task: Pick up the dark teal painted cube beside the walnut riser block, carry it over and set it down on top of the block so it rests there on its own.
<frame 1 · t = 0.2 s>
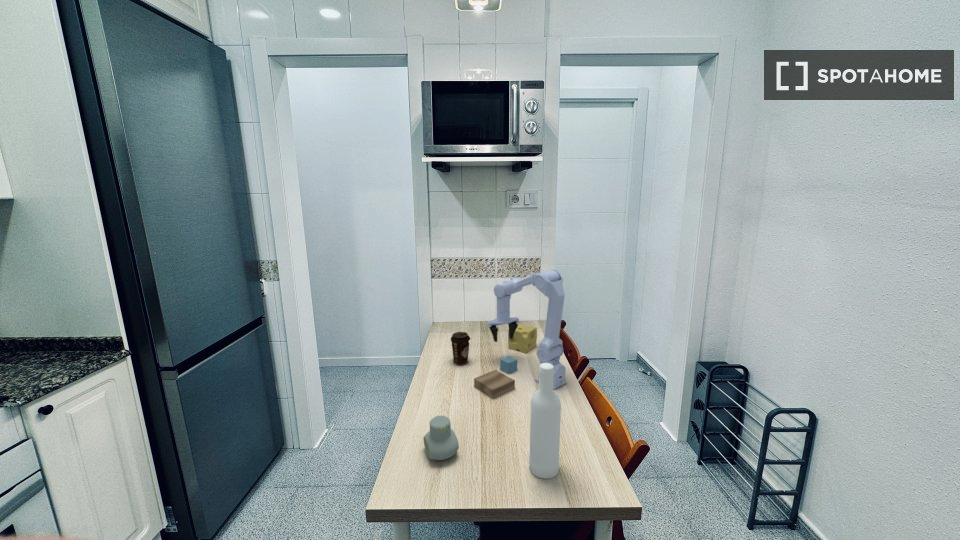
hand: (503, 339, 160), 10 cm above the table, tool pointing down, fingers open, 7 cm apart
coffee cup: (461, 362, 161), on the table
cheese: (521, 347, 176), on the table
bottle: (543, 468, 98), on the table
teal cube: (508, 370, 153), on the table
air freshener: (441, 452, 104), on the table
walnut riser: (494, 388, 139), on the table
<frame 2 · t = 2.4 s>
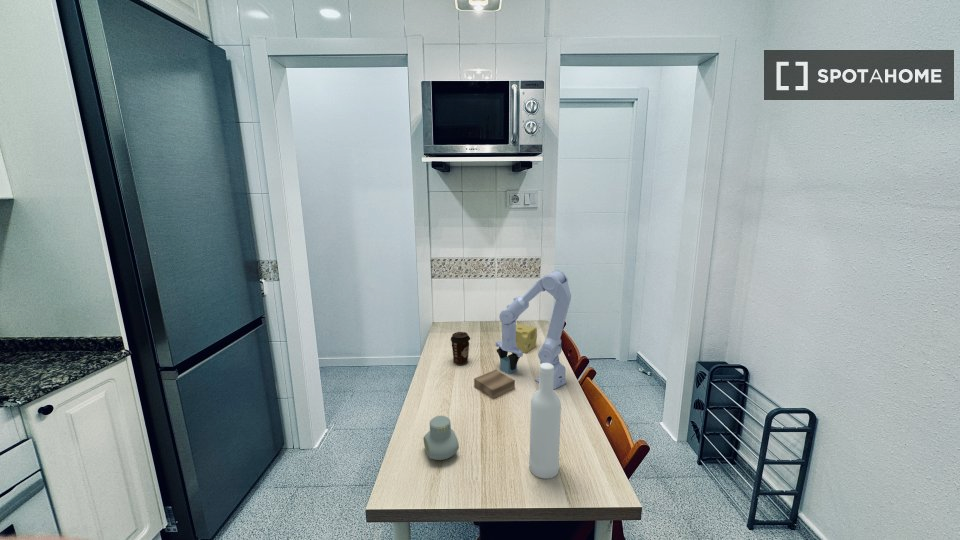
hand: (508, 367, 152), 1 cm above the table, tool pointing down, fingers closed on teal cube, 5 cm apart
teal cube: (508, 370, 153), on the table, touching gripper
everything else where it was.
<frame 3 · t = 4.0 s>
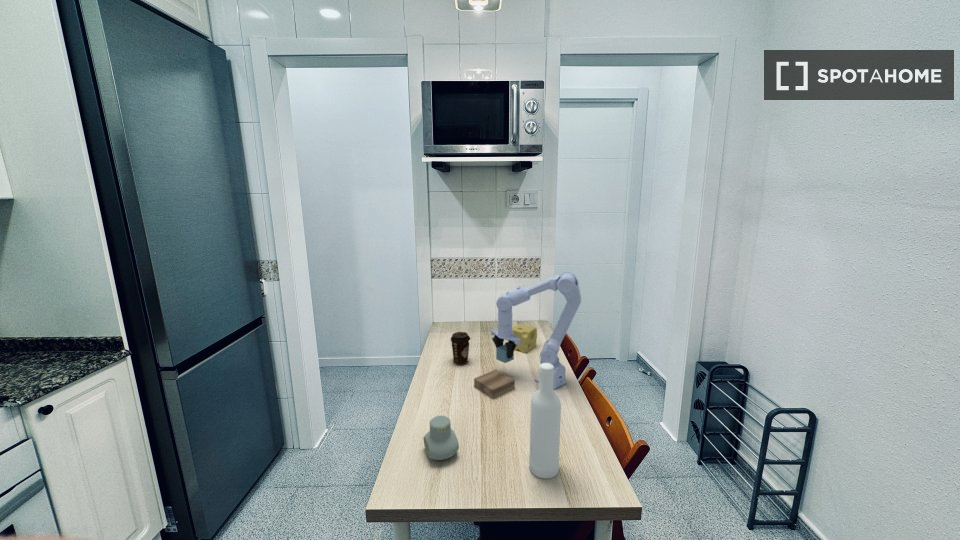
hand: (504, 355, 147), 8 cm above the table, tool pointing down, fingers closed on teal cube, 5 cm apart
teal cube: (505, 359, 148), point 7 cm above the table, touching gripper
everything else where it was.
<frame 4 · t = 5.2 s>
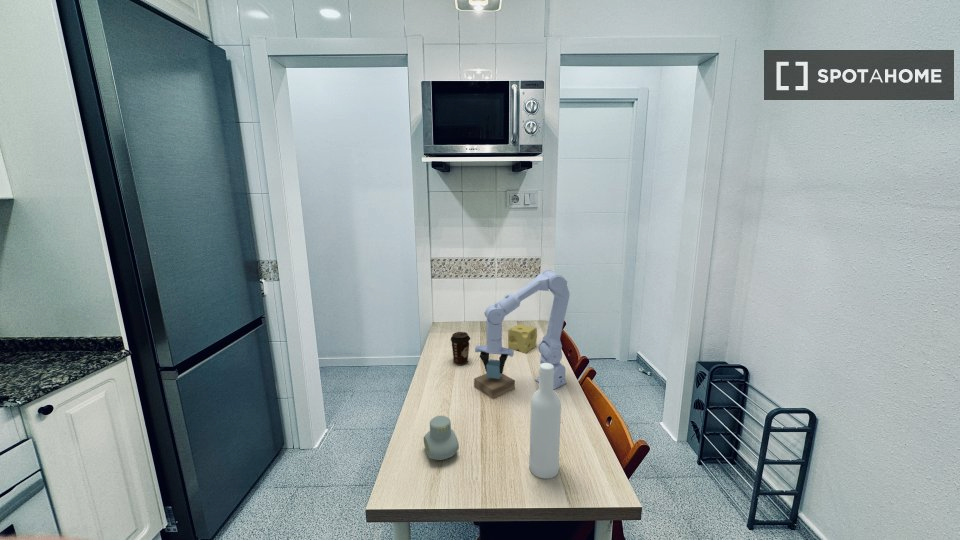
hand: (494, 371, 137), 7 cm above the table, tool pointing down, fingers closed on teal cube, 5 cm apart
teal cube: (494, 375, 138), point 5 cm above the table, touching gripper
everything else where it was.
when the fingers open (7 cm above the table, at t = 5.9 s): teal cube drops 2 cm, resting on walnut riser.
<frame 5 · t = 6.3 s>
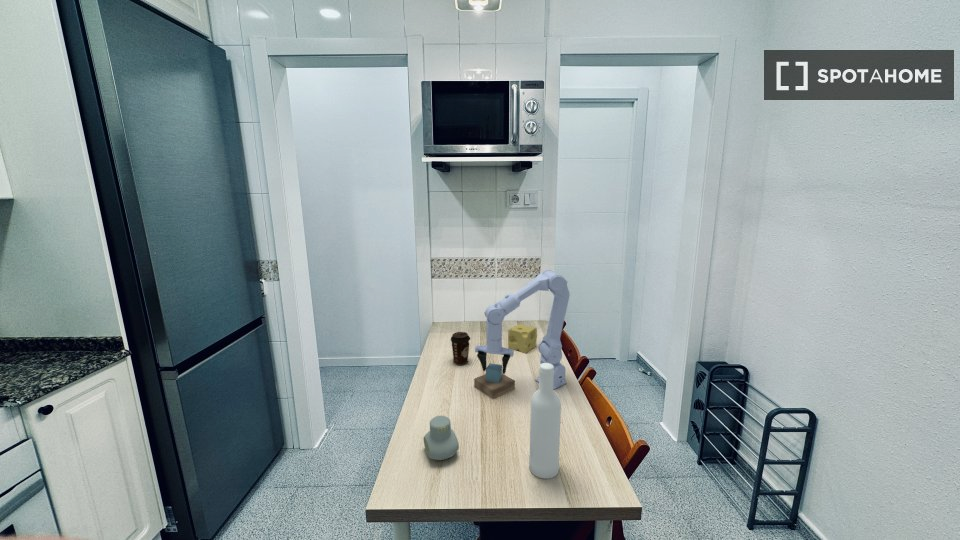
hand: (494, 371, 137), 7 cm above the table, tool pointing down, fingers open, 7 cm apart
teal cube: (494, 379, 139), point 3 cm above the table, touching walnut riser
walnut riser: (494, 389, 139), on the table, touching teal cube
everything else where it was.
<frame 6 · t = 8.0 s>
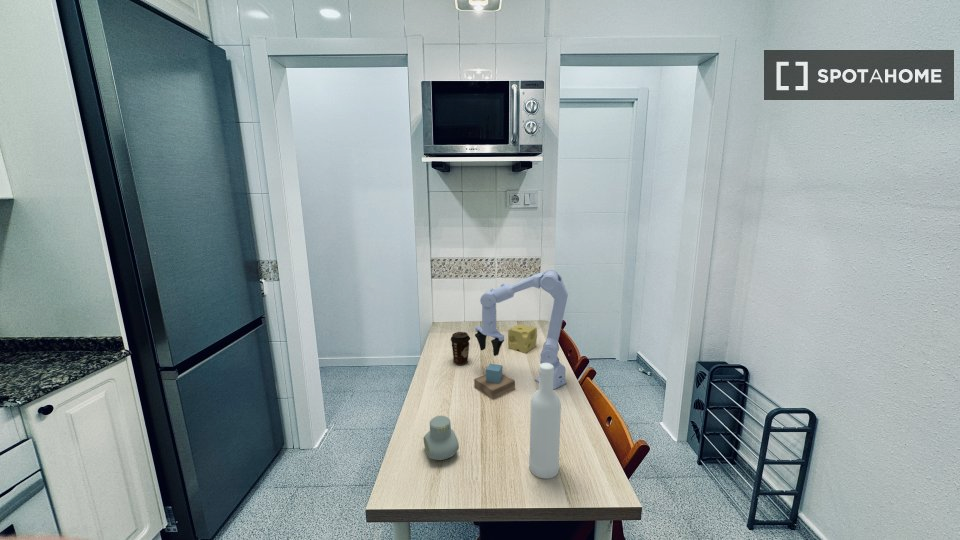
hand: (489, 352, 148), 9 cm above the table, tool pointing down, fingers open, 7 cm apart
nothing on the table moved.
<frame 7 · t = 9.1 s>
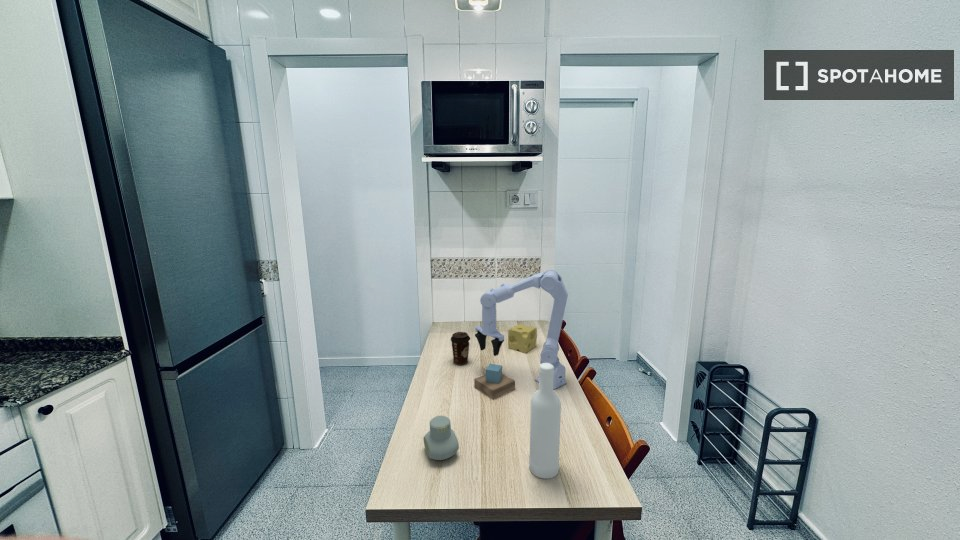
hand: (489, 352, 148), 9 cm above the table, tool pointing down, fingers open, 7 cm apart
nothing on the table moved.
at the end: teal cube 0.3 cm off-centre on the walnut riser, point 4.0 cm above the walnut riser's base; teal cube tilted 0°; the gripper is holding nothing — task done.
